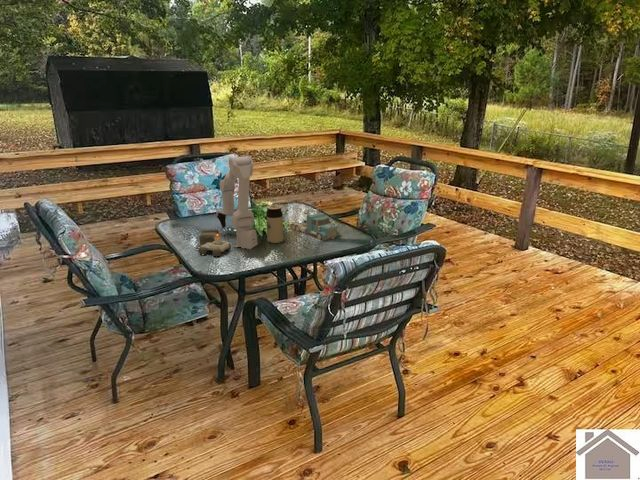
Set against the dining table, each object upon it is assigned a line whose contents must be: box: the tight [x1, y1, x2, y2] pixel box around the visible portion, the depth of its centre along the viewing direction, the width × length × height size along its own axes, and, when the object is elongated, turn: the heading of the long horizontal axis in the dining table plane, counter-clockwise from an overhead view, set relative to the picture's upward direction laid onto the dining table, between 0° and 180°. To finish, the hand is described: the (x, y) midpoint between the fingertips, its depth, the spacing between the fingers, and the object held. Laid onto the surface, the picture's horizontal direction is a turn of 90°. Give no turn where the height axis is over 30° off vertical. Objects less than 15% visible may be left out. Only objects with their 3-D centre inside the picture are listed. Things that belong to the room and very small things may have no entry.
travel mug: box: [265, 204, 284, 244], centre depth 236 cm, size 8×8×18 cm
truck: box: [290, 206, 342, 242], centre depth 249 cm, size 12×29×15 cm, turn 39°
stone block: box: [198, 228, 220, 245], centre depth 237 cm, size 9×14×5 cm, turn 6°
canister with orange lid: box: [214, 232, 223, 246], centre depth 220 cm, size 3×3×6 cm
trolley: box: [194, 240, 232, 257], centre depth 223 cm, size 17×10×5 cm, turn 68°
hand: (230, 228), depth 246 cm, fingers open, 7 cm apart
